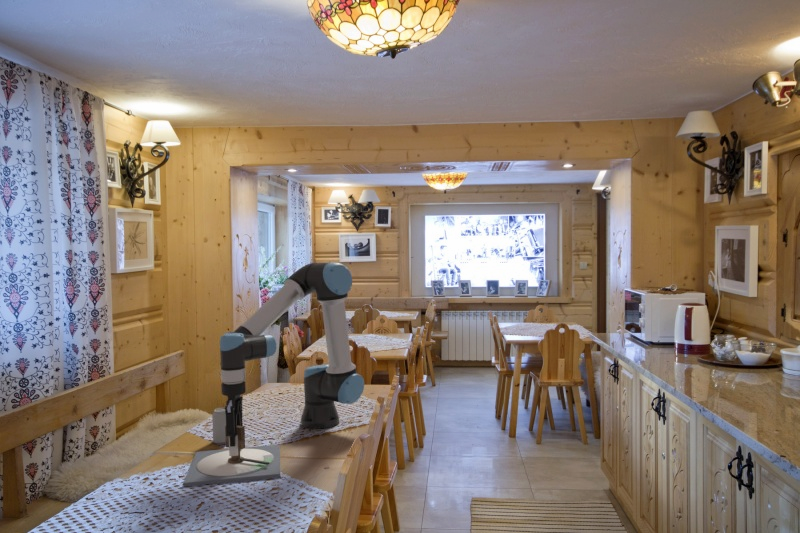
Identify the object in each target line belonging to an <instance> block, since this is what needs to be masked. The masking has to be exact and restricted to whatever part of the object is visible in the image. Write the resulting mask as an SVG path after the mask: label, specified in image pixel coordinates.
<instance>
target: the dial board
mask: <svg viewBox="0 0 800 533" xmlns="http://www.w3.org/2000/svg"><path fill="white" fill-rule="evenodd" d="M280 448H281V446H280V444H271V445H261V446H260V445H259V446H247V447H246V446H245V448H244V449H242V451H240V456H241V457H243V458H246V459H253V460H259V461H265V462H269V464H268V465H266V464H260V463H254V462H248V461H243V462H241V463H236V464H231V463H228V459H229V458H231V456H229V448H225V449H224V448H223V449H213V450H200V451H196V452H195V454H194V457H193V459H192V461H191V464H190V467H189V469H188V471H187V475H186V477H185V480H184V482H183V485H184V486H183V487H184V488H186V487H185V486H188V487H194V486H193V485H199V486H204V485H203V484H209V485H217V484H216V483H219V484H227V483H228V482H230V483H237V482H247V481H249V482H250V481H258V480H259V481H260V480H269V479H277V478H280V479H281V449H280Z"/></svg>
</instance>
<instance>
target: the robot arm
mask: <svg viewBox="0 0 800 533" xmlns="http://www.w3.org/2000/svg"><path fill="white" fill-rule="evenodd" d="M283 282H284V283H283V286H282V287H281V288H279V290H277V291H276V292H275V293H274V294H273V295H272V296H271V297H269V299H267V301H265V303H263V304H262V305H261V306H260V307H259V308H257V310H256V311H255V312H253V313H252V315H249V317H248V318H247V319H245V321H244V322H242V323H241V325H240V326H239V327H237V328H236V329H235V330H234V331H230V332H229V331H228V332H226V333H224V334H222V335H221V336H220V339H219V351H220V353H219V354H220V355H219V356H220V371H219V375H221V376H220V378H221V379H220V380H221V385H220V386H221V388H220V389H221V395H222V396H226V397H227V400H226V403H225V404H226V406H224V407H225V413H226V432H227V434H226V436H229V448H228V449H229V456H238V435H237V425H238V426H244V424H243V399H244V398H243V396H241V395H243V394H245V393H246V391H247V390H246V381H245V380H246V362H248V361H254V360H259V359H266V358H268V357H269V358H270V357H272V356H275V353H276V351H277V349H278V348H277V342H276V341H277V340H276V339H275V337H274V336H272V335H271V334H265V332H266V331H267V330H268V329H270V327H271V326H272V325H273V324H274V323H275V322H276V321H278V319H280V318H281V316H283V314H285V313H286V312H287V311H288V310H289V309H290V308H291V307H292V306H293V305H294V304H295V303H296V302H298V301H302V300H304V298H305V297H306V296H309V295H310V294H316V295H315V296H316V300H317V302H318V303H320V305H321V309H322V318H323V326H324V334H325V335H324V336H325V343H326V350H327V351H326V352H327V357H328V358H327V359H328V364H317V365H313V366H307V367H306V368H305V369H304V371H303V383H304V384H303V385H304V387H303V388H304V389H303V390H304V392H303V393H304V407H303V411H302V414H301V418H300V425H301V427H304V428H307V429H317V430H318V429H326V428H331V427H334V426H336V425H338V424H339V423H340V417H339V413H338V409H337V407H336V404H335V403H341V404H343V405H344V404H346V405H352V404H354V403H356V402H358V401H359V399H360V398H361V396H362V394H363V393H364V389H365V380H364V378H363V376H362V375H360V374H359V373H357V366H356V364H354V363H353V362H352V355H351V347H350V339H349V329H348V321H347V311H346V304H345V301H346V299H348V296H349V294H348V292H350V291H351V287H352V286H353V276H352V273H351V271H350V269H349V268H348V267H347V266H346V265H344V264H342V263H341V262H340V263H338V262H334V261H333V262H311V263H307V264H305V265H304V266H302V267H300V268H299V269H298V270H296V271H295V272H294V273H292V274H290V276H289V277H287V279H285V280H284V281H283ZM240 451H242V450H241V449H240Z"/></svg>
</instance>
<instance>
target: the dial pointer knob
mask: <svg viewBox="0 0 800 533" xmlns="http://www.w3.org/2000/svg"><path fill="white" fill-rule="evenodd" d="M245 432H246V429H245V426H244V425H243V426H238V425H237V435H238V456H231V458H229V459H228V463H231V464H236V463H241V462H243V461H248V462H254V463H260V464H266V465H268V464H269V462H265V461H259V460H253V459H246V458H243V457H241V456H240V449H241V450H242V449H244V448H245V447H246V436H245V435H246V433H245ZM226 434H227V432H226V426H225V436H226ZM225 447H226V448H227V449H229V436H226V444H225Z"/></svg>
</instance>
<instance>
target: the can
mask: <svg viewBox="0 0 800 533" xmlns="http://www.w3.org/2000/svg"><path fill="white" fill-rule="evenodd" d="M211 414H212V416H211V417H212V418H211V419H212V421H211V422H212V441H213V442H214V443H215V444H217V445H226V436H225V426H226V413H225V406H224V407H217V408H215V409H214V410H213V413H211Z"/></svg>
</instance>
